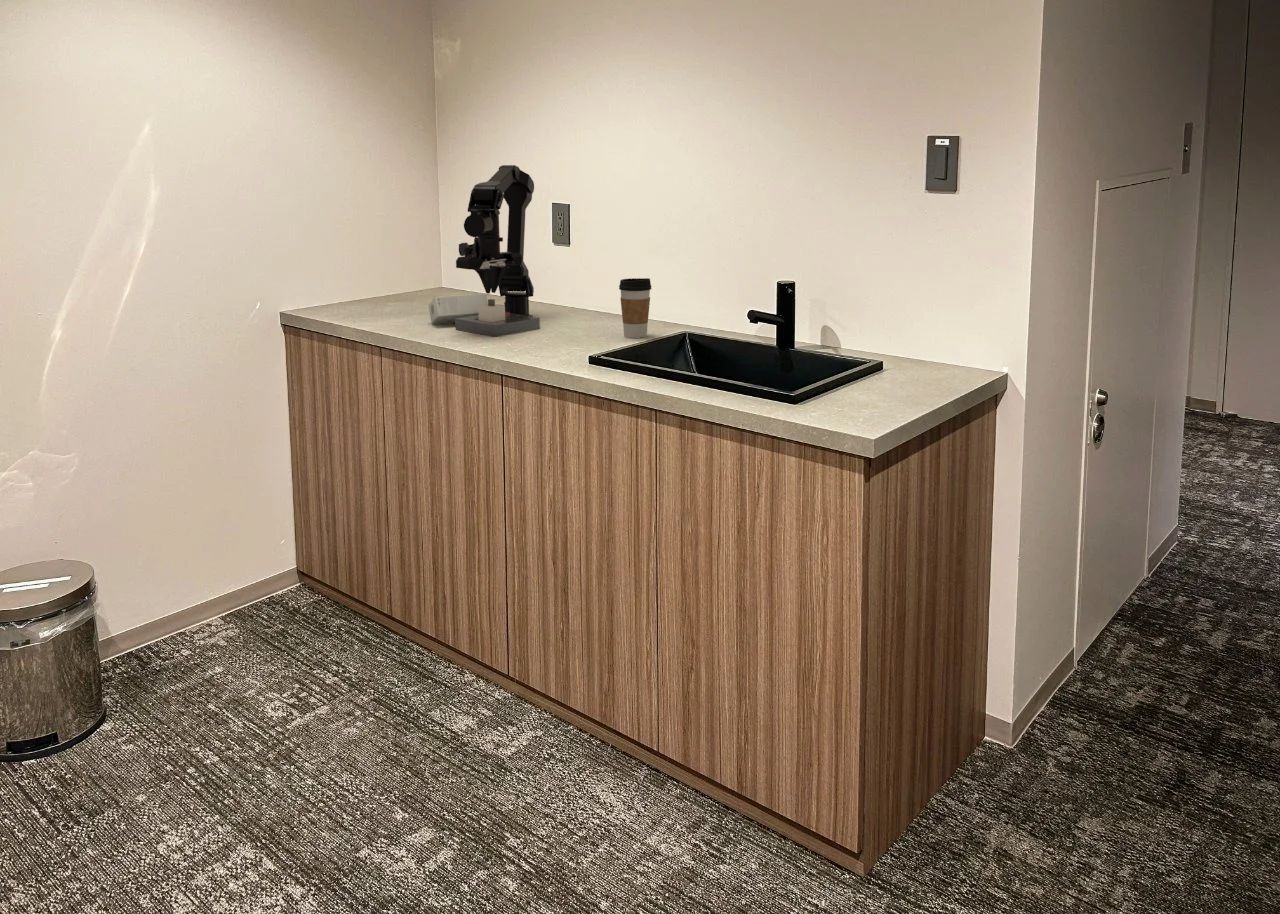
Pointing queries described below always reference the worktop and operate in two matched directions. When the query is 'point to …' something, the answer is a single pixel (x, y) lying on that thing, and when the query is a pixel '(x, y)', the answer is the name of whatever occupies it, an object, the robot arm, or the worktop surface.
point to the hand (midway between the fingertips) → (490, 293)
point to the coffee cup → (635, 306)
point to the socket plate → (498, 325)
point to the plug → (491, 311)
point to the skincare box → (455, 307)
